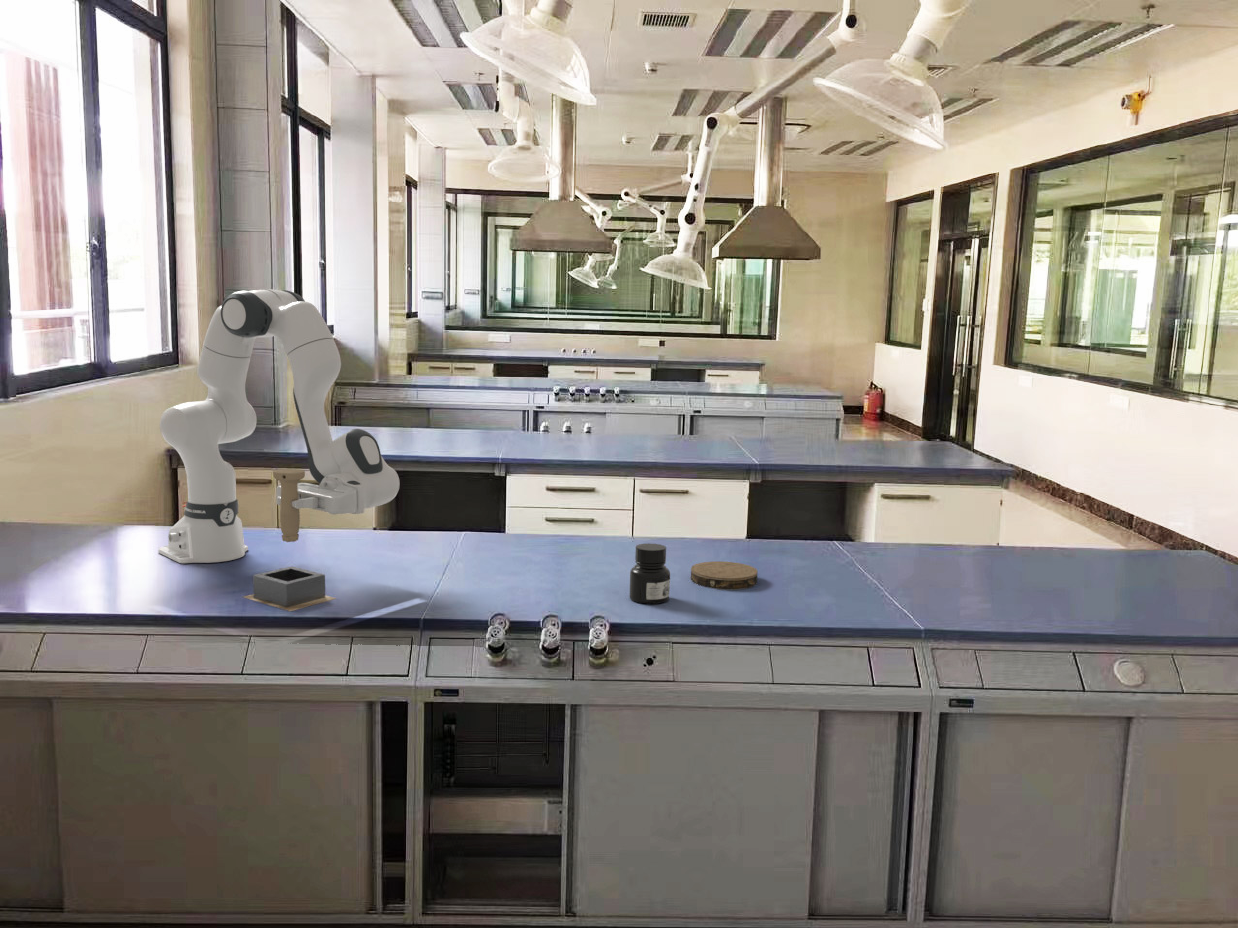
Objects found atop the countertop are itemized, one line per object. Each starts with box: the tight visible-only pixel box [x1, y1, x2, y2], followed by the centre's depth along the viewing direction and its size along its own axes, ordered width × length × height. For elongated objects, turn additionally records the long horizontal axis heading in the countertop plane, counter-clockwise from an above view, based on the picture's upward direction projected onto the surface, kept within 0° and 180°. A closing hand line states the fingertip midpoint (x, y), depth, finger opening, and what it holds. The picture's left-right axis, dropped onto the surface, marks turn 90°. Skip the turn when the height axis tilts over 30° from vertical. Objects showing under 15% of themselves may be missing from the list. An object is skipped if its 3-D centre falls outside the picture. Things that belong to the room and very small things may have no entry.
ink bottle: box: [629, 542, 671, 605], centre depth 233 cm, size 10×9×12 cm
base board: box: [243, 593, 338, 612], centre depth 224 cm, size 16×12×1 cm
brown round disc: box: [690, 560, 758, 591], centre depth 251 cm, size 16×16×3 cm
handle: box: [272, 468, 306, 543], centre depth 221 cm, size 5×6×15 cm
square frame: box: [252, 565, 326, 608], centre depth 224 cm, size 11×10×5 cm
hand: (286, 502), depth 221 cm, fingers closed on handle, 3 cm apart
